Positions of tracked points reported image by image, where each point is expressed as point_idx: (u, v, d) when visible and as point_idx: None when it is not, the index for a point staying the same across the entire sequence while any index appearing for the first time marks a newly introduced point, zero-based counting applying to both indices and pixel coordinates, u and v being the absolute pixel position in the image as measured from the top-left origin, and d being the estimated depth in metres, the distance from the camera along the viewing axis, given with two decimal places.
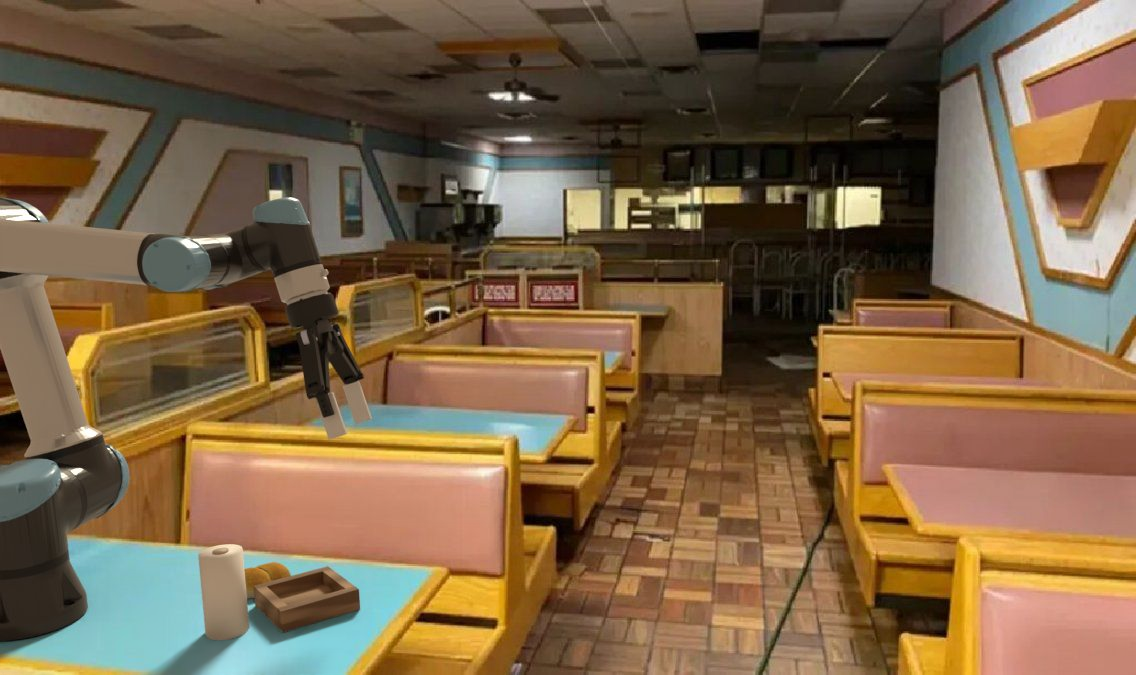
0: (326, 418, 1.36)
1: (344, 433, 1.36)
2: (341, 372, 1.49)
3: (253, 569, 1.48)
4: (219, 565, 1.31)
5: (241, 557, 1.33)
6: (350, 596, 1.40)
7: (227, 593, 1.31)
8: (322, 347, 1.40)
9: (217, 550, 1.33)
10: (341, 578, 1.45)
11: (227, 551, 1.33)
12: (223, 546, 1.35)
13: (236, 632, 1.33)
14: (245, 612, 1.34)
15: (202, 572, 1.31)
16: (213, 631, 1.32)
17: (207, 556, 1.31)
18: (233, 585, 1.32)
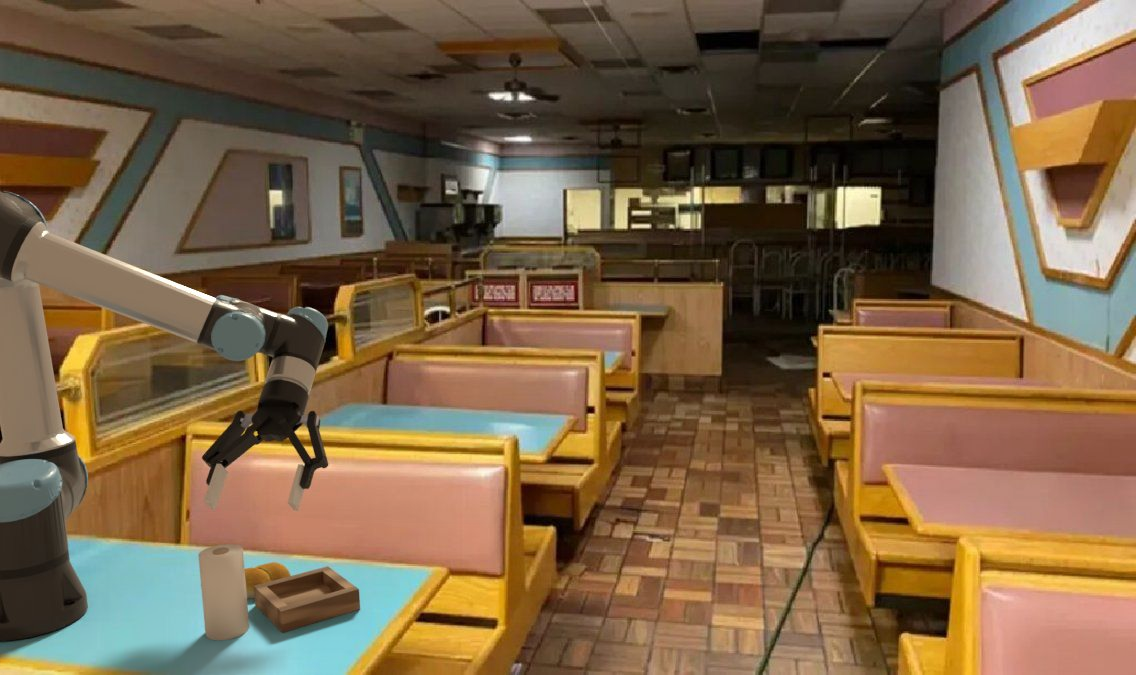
0: (298, 486, 1.42)
1: (298, 508, 1.42)
2: (231, 454, 1.48)
3: (253, 569, 1.48)
4: (219, 565, 1.31)
5: (241, 557, 1.33)
6: (350, 596, 1.40)
7: (227, 593, 1.31)
8: None
9: (217, 550, 1.33)
10: (341, 578, 1.45)
11: (227, 551, 1.33)
12: (223, 546, 1.35)
13: (236, 632, 1.33)
14: (245, 612, 1.34)
15: (202, 572, 1.31)
16: (213, 631, 1.32)
17: (207, 556, 1.31)
18: (233, 585, 1.32)
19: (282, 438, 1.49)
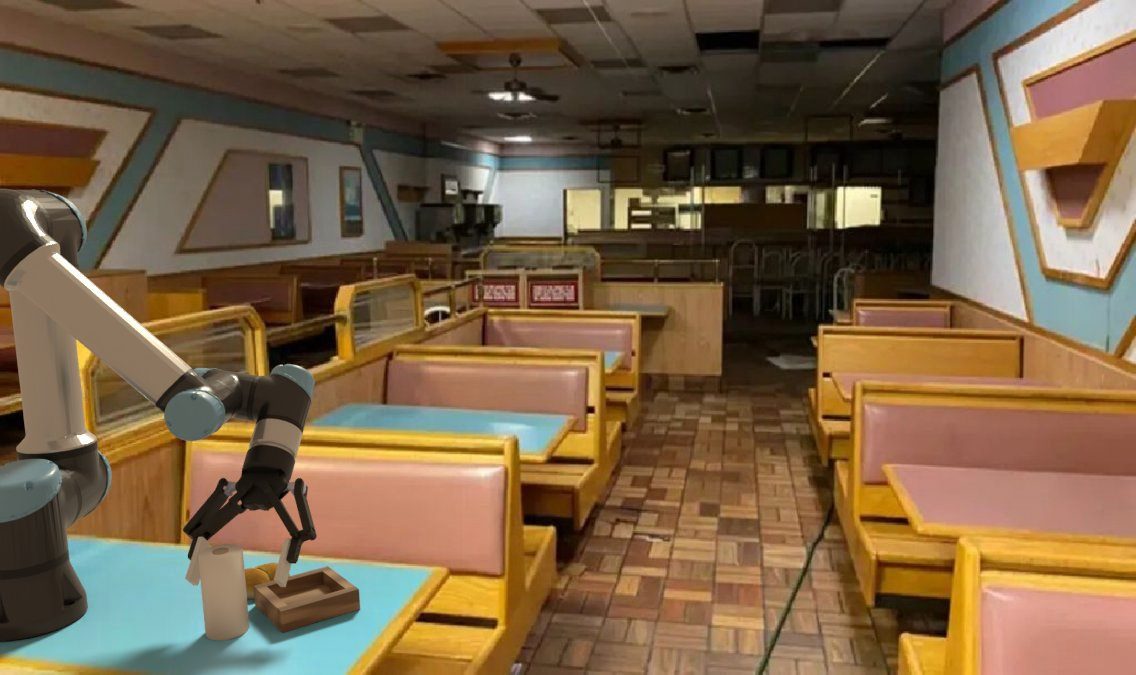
0: (285, 561, 1.35)
1: (285, 585, 1.35)
2: (214, 525, 1.40)
3: (252, 569, 1.48)
4: (219, 566, 1.31)
5: (241, 557, 1.33)
6: (350, 596, 1.40)
7: (227, 593, 1.31)
8: None
9: (217, 550, 1.33)
10: (341, 578, 1.45)
11: (227, 551, 1.33)
12: (223, 546, 1.35)
13: (236, 632, 1.33)
14: (245, 612, 1.34)
15: (202, 573, 1.31)
16: (213, 631, 1.32)
17: (207, 556, 1.31)
18: (233, 586, 1.32)
19: (268, 507, 1.42)
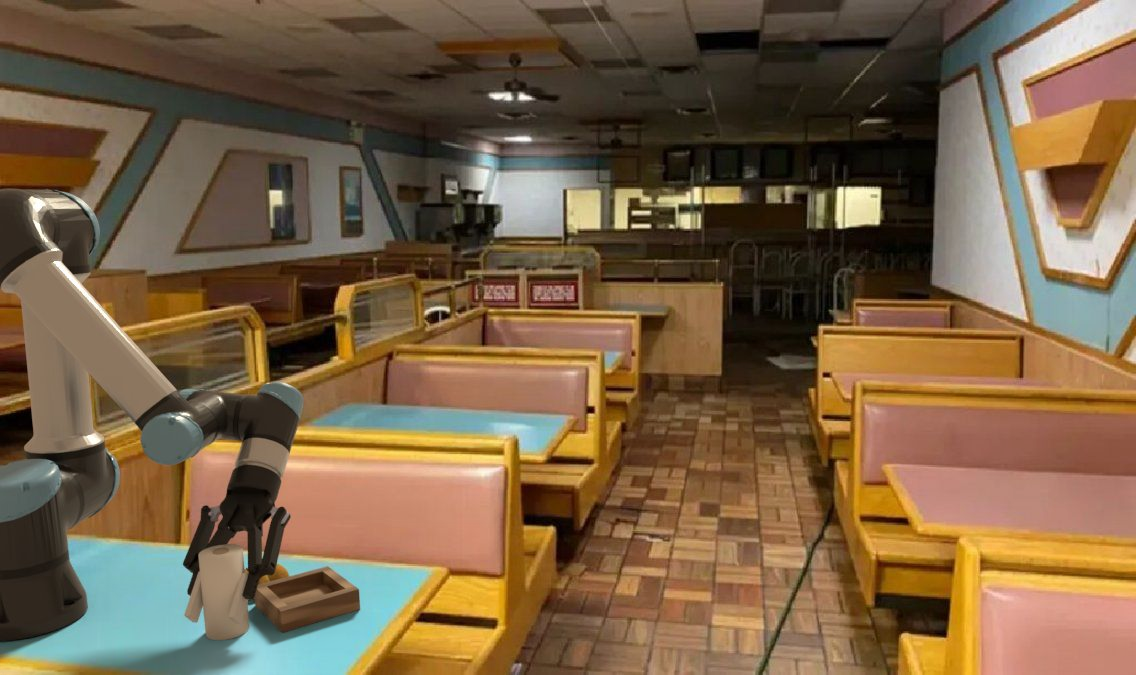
0: (241, 597, 1.32)
1: (241, 622, 1.31)
2: None
3: None
4: (219, 565, 1.31)
5: (241, 557, 1.33)
6: (350, 596, 1.40)
7: (227, 593, 1.31)
8: None
9: (217, 550, 1.33)
10: (341, 578, 1.45)
11: (227, 551, 1.33)
12: (223, 546, 1.35)
13: (236, 632, 1.33)
14: (245, 612, 1.34)
15: (202, 572, 1.31)
16: (213, 631, 1.32)
17: (207, 556, 1.31)
18: (233, 585, 1.32)
19: None
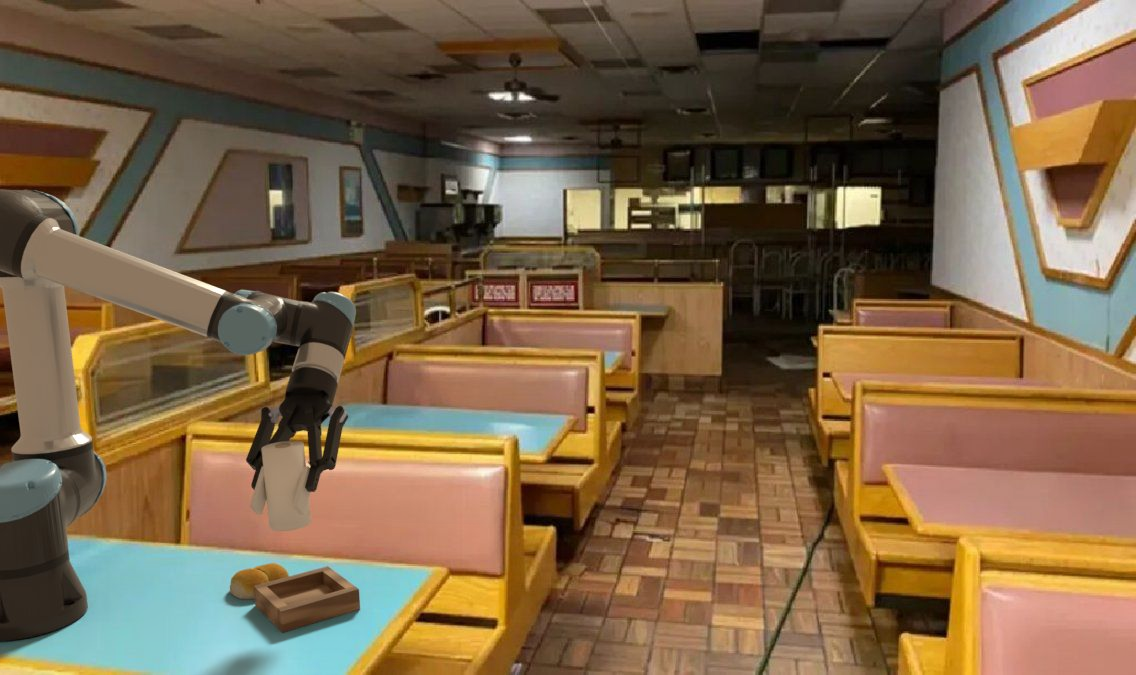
0: (304, 489, 1.35)
1: (304, 512, 1.35)
2: None
3: (251, 570, 1.48)
4: (282, 457, 1.34)
5: (303, 451, 1.37)
6: (350, 596, 1.40)
7: (290, 485, 1.35)
8: (321, 423, 1.44)
9: (279, 445, 1.37)
10: (341, 578, 1.45)
11: (289, 445, 1.37)
12: (284, 442, 1.39)
13: (299, 524, 1.37)
14: (307, 505, 1.38)
15: (266, 465, 1.35)
16: (277, 522, 1.36)
17: (270, 449, 1.35)
18: (295, 478, 1.36)
19: None
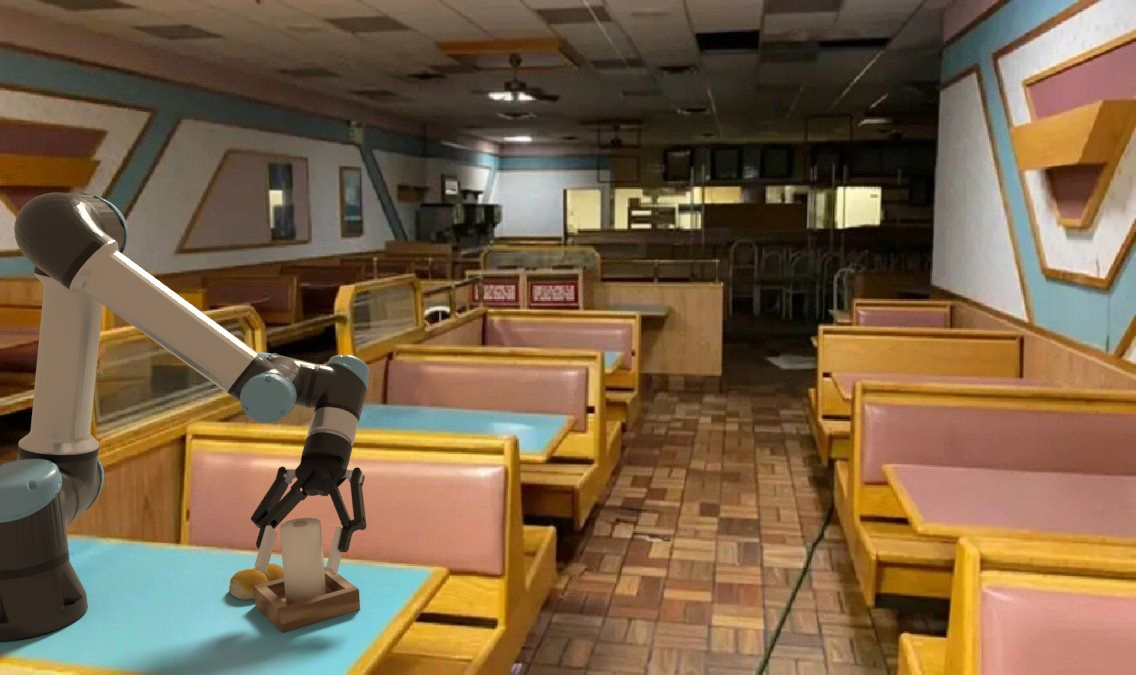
0: (337, 550, 1.39)
1: (336, 573, 1.38)
2: (280, 513, 1.44)
3: (251, 570, 1.48)
4: (300, 537, 1.37)
5: (320, 529, 1.40)
6: (350, 596, 1.40)
7: (308, 563, 1.38)
8: (337, 487, 1.47)
9: (297, 523, 1.40)
10: (341, 578, 1.45)
11: (306, 524, 1.40)
12: (301, 519, 1.42)
13: None
14: (323, 582, 1.41)
15: (284, 544, 1.38)
16: (293, 599, 1.39)
17: (288, 528, 1.38)
18: (313, 556, 1.39)
19: (327, 493, 1.46)
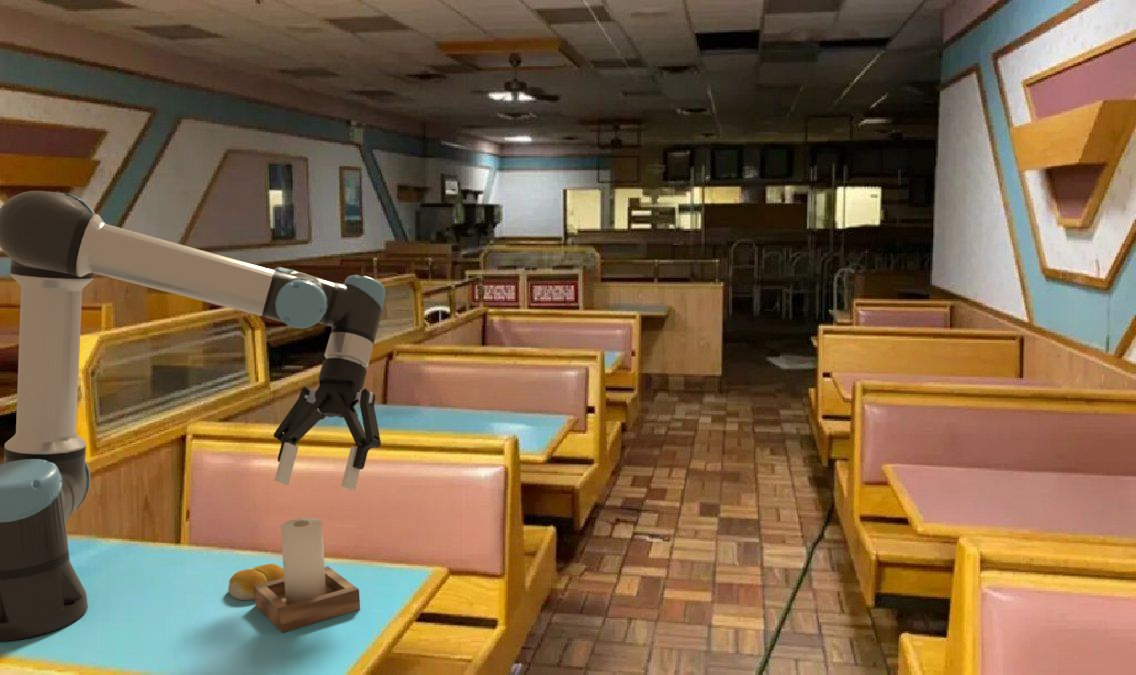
0: (352, 468, 1.49)
1: (354, 489, 1.49)
2: (298, 431, 1.56)
3: (250, 571, 1.48)
4: (301, 537, 1.37)
5: (321, 529, 1.40)
6: (350, 596, 1.40)
7: (308, 563, 1.38)
8: (350, 409, 1.55)
9: (298, 523, 1.40)
10: (341, 578, 1.45)
11: (307, 524, 1.40)
12: (302, 519, 1.42)
13: None
14: (323, 582, 1.41)
15: (284, 543, 1.38)
16: (294, 599, 1.39)
17: (289, 528, 1.38)
18: (313, 556, 1.39)
19: (341, 415, 1.55)
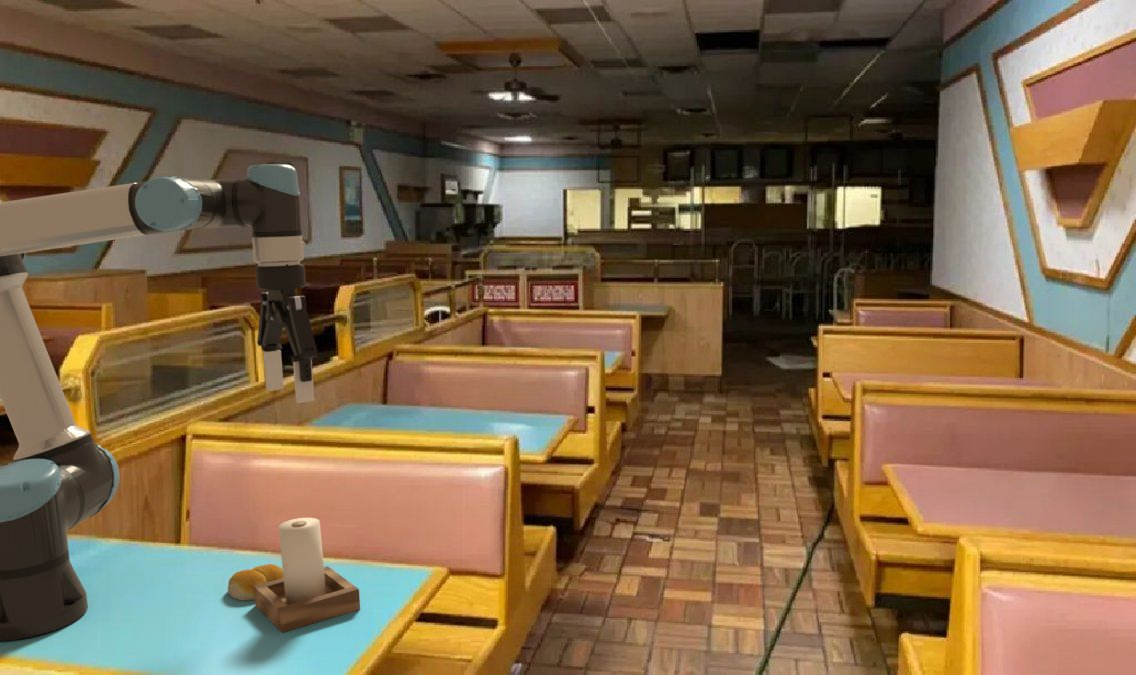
0: (300, 382, 1.43)
1: (313, 399, 1.45)
2: (270, 339, 1.53)
3: (249, 571, 1.47)
4: (299, 537, 1.37)
5: (319, 529, 1.40)
6: (350, 596, 1.40)
7: (307, 563, 1.38)
8: None
9: (296, 523, 1.40)
10: (341, 578, 1.45)
11: (305, 524, 1.40)
12: (301, 519, 1.42)
13: None
14: (323, 582, 1.41)
15: (283, 544, 1.38)
16: (293, 599, 1.39)
17: (287, 529, 1.38)
18: (312, 556, 1.39)
19: None
